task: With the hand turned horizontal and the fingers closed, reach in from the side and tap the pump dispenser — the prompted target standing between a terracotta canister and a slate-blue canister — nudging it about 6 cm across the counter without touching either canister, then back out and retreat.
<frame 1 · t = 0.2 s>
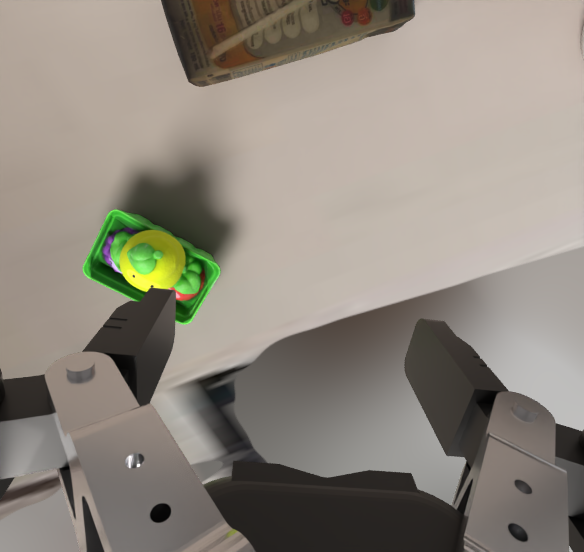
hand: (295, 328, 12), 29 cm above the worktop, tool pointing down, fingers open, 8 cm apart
beverage carton: (285, 15, 34), on the worktop
fruit basket: (167, 249, 41), on the worktop
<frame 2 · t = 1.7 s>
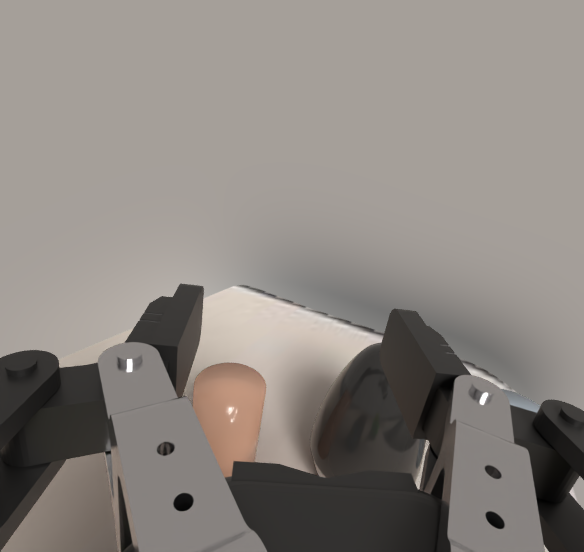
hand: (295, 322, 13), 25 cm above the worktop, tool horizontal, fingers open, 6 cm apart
slate-blue canister: (480, 486, 38), on the worktop
terracotta canister: (221, 468, 36), on the worktop
pump dispenser: (355, 479, 37), on the worktop
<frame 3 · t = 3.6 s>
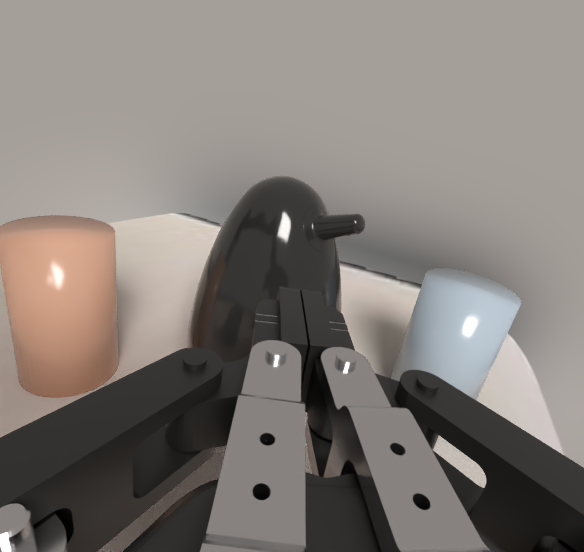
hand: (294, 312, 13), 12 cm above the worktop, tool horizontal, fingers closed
slate-blue canister: (425, 402, 29), on the worktop
terracotta canister: (71, 366, 26), on the worktop
pump dispenser: (257, 387, 28), on the worktop
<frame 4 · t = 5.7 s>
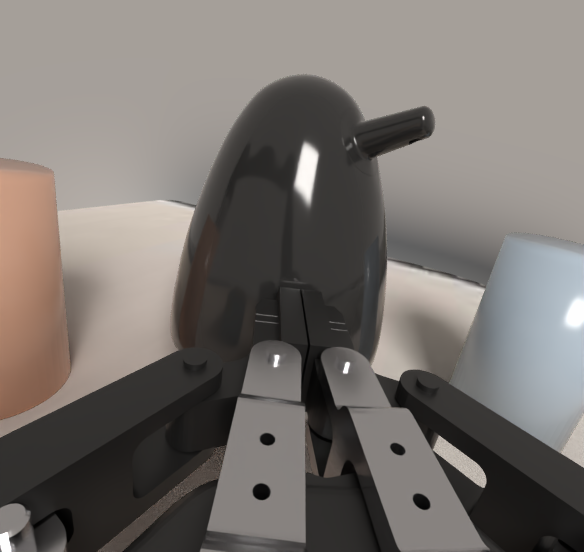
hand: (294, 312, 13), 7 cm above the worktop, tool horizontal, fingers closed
slate-blue canister: (498, 420, 21), on the worktop
pump dispenser: (267, 391, 20), on the worktop, touching gripper
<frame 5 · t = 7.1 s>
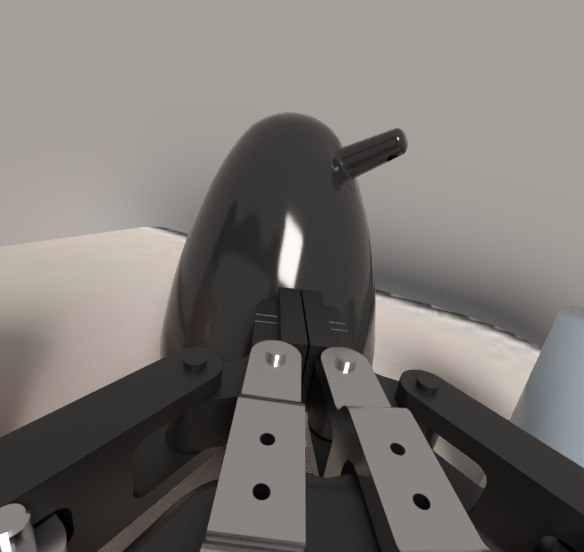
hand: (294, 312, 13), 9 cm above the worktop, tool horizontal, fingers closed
slate-blue canister: (544, 538, 17), on the worktop
pump dispenser: (259, 428, 19), point 1 cm above the worktop, touching gripper
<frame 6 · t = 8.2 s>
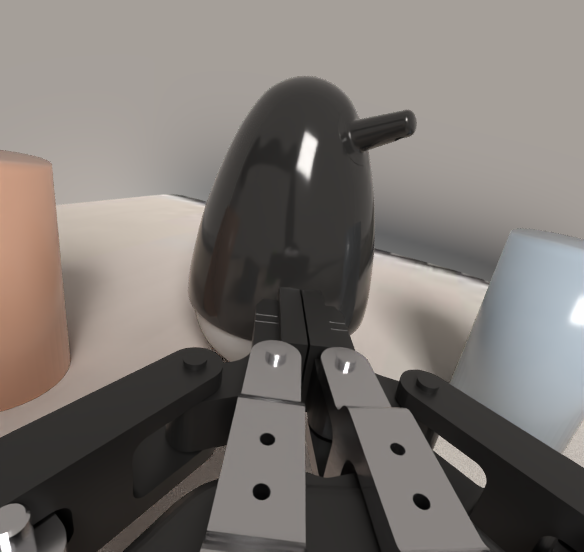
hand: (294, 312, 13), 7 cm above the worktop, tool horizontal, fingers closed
slate-blue canister: (500, 418, 21), on the worktop
pump dispenser: (269, 350, 24), on the worktop
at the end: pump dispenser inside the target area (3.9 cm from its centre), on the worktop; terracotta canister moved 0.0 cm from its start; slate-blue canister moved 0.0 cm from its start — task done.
